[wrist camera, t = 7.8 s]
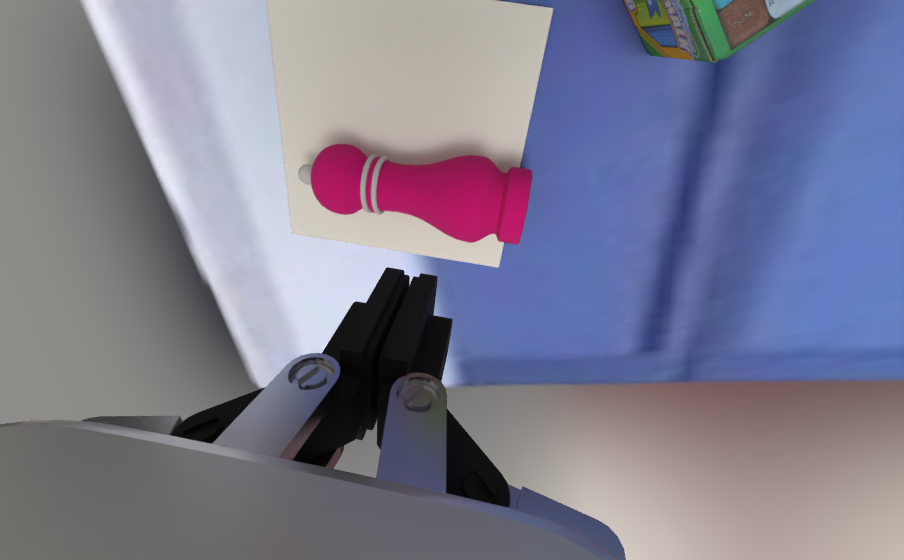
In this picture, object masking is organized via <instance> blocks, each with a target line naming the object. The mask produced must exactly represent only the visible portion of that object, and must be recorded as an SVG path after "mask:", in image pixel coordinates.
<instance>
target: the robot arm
mask: <svg viewBox="0 0 904 560" xmlns="http://www.w3.org/2000/svg"><path fill="white" fill-rule="evenodd" d="M436 288H437V276H433V275H428V274H422V273H421V274H420V276H419V277H413V279H412V281H411V284H410V286H409V276H408V275H404V270H399V269H394V268H388V267H387V268H386V269H385V271H384V273H383V274H382V276H381V278H380V280H379V281H378V283H377V285H376V287H375V288H374V290H373V292H372V294H371V295H370V297H369V299H368V301H367V302H366V303H362V302H357V301H356V302H354V303H353V305H352V306H351V308H350V309H349V311H348V312H347V314H346V316H345V317H344V319H343V320H342V322H341V324H340V325H339V327H338V328H337V330H336V332H335V333H334V335H333V336H332V338H331V340H330V341H329V343H328V344H327V346H326V348H325V349H324V351H323V352H322V354H321V353H311V354H306V355H302V356H300V357H298V358H296V359H294V360H292V361H291V362H290V363H289V364H287V365H286V367H285V368H284V369H283V370H282V371H281V372H280V373H279V374H278V375H277V376H276V377H275V378H274V379H273V380H272V381H271V382H270V383H269V384H268V385H267V387H265V388H262V389H260V390H257V391H254V392H252V393H249V394H246V395H244V396H241V397H238V398H236V399H233V400H231V401H228V402H225V403H223V404H220V405H217V406H215V407H212V408H209V409H207V410H204V411H201V412H199V413H197V414H194V415H192V416H190V417H189V418H187V419H186V420H181V417H180V416H100V417H93V418H88V419H85V420H82V421H73V420H31V421H23V422H15V423H6V424H0V560H626V558H625V553H624V548H623V546H622V544H621V542H620V541H619V539H618V537H617V536H616V534H615V533H614V532H613V531H612V530H611V529H610V528H609V527H608V526H606V525H605V524H603V523H602V522H600V521H599V520H597V519H594V518H592V517H590V516H588V515H586V514H583V513H581V512H579V511H577V510H574V509H572V508H570V507H568V506H565V505H563V504H561V503H559V502H556V501H554V500H552V499H550V498H548V497H545V496H543V495H541V494H539V493H536V492H534V491H532V490H530V489H527V488H525V487H522V489H521V490H519V489H517V488H515V487H513V486H511V485H508V483H507V482H506V480H505V479H504V477H503V476H502V474H501V473H500V472H499V470H498V469H497V468H496V467H495V466H494V464H493V463H492V462H491V461H490V460H489V458H488V457H487V456H486V455H485V454H484V452H483V451H482V450H481V449H480V448H479V446H478V445H477V444H476V443H475V442H474V440H473V439H472V438H471V437H470V436H469V435H468V433H467V432H466V431H465V430H464V428H463V427H462V426H461V425H460V424H459V422H458V421H457V420H456V419H455V418H454V417H453V415H452V414H451V413H450V412H449V410H448V409H447V394H446V389H445V387H444V386H443V384H442V382H441V380H442V376H443V371H444V367H445V362H446V357H447V352H448V347H449V341H450V334H451V328H452V319H450V318H444V317H439V316H433V314H434V305H435V297H436ZM376 421H377V423H378V424H377V445H378V447H379V448H380V450H381V451H380V458H379V464H378V470H377V476H376V478H373V477H368V476H364V475H359V474H354V473H349V472H345V471H340V470H335V469H334V467H335V465H336V464H337V462H338V460H339V459H340V457H341V455H342V453H343V450H344V445H346V444H347V443H349V442H351V441H353V440H355V439H359V440H363V438H364V435H365V433H366V430H367V429H368V430H373V428H374V426H375V423H376Z"/></svg>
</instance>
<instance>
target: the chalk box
mask: <svg viewBox="0 0 904 560" xmlns="http://www.w3.org/2000/svg"><path fill="white" fill-rule="evenodd" d="M623 1H624V3H625V5H626V7H627V9H628V12H629V14H630V16H631V18H632V20H633V22H634V24H635V26H636V28H637V30H638V32H639V35H640V37H641V39H642V41H643V43H644V45H645V47H646V50H647V51H648V53H649V55H651V56H660V57H669V58H678V59H689V60H695V61H706V62H712V63H714V62H717V61H718V60H720V59H721V60H723V59H726V58H727V57H729V56H731V55H733V54H734V53H736V52H737V51H739V50H740V49H742V48H743V47H745V46H747V45H748V44H750V43H751V42H753V41H754V40H756V39H757V38H759V37H760V36H762V35H763V34H765V33H766V32H768V31H769V30H771V29H772V28H774V27H775V26H777V25H778V24H780V23H781V22H783V21H785V20H786V19H788V18H789V17H791V16H792V15H794V14H795V13H797V12H798V11H800V10H801V9H803V8H804V7H806V6H807V5H809V4H810V3H812V2H813V1H815V0H623Z"/></svg>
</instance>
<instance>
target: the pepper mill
mask: <svg viewBox="0 0 904 560" xmlns="http://www.w3.org/2000/svg"><path fill="white" fill-rule="evenodd" d="M298 177H299V179H300V180H301V181H302V182H303V183H304V184H307V185H311V187H312V190H313V193H314V195H315V197H316V199H317V200H318V202H319V203H320V204H321V205H322V206H323V207H325V208H326V209H328V210H329V211H331V212H334V213H337V214H342V215H349V214H354V213H356V212H358V211H359V210H361V209H364V210H365V211H366V212H367V213H372V212H373V213H376V214H378V215H381V214H383V213H384V212H385V211H391V212H400V213H404V214H408V215H412V216H414V217H417V218H419V219H421V220H423V221H425V222H427V223H428V224H430V225H432V226H433V227H435V228H436V229H438V230H440V231H441V232H443V233H444V234H446V235H448V236H450V237H452V238H454V239H457V240H461V241H464V242H468V243H473V242H477V241H479V240H481V239H483V238H484V237H486V236H488V235H490V234H495V235H496V237H497V240H498V241H499V242H504V243H510V244H518V243H519V241H520V238H521V234H522V230H523V226H524V221H525V217H526V212H527V206H528V200H529V194H530V188H531V181H532V171H531V170H530V169H525V168H518V167H511V168H510V169H509V170H508V172H507V173H503V172H501V171H500V170H499V169H498V167H497V166H496V165H495V164H494V163H493V162H492V161H491V160H490V159H489V158H487V157H484V156H475V155H466V156H459V157H454V158H451V159H447V160H444V161H440V162H436V163H432V164H425V165H403V164H398V163H394V162H391V161H390V159H389V158H388V157H387V156H382V157H380V156H377V155H376V154H373V155H370V156H369V157H367V156H366V155H365V154H364V153H363V152H362V151H361V150H360V149H359V148H357V147H355V146H353V145H349V144H334V145H331V146H328V147H326V148H324V149H323V150H322V151H321V152H320V153H319V154H318V155H317V157H316V159H315V161H314V163H313V165H311V164H305V165H302V166H301V167H300V168H299V171H298Z"/></svg>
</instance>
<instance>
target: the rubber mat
mask: <svg viewBox="0 0 904 560" xmlns="http://www.w3.org/2000/svg"><path fill="white" fill-rule="evenodd" d="M266 2H267V11H268V20H269V30H270V39H271V48H272V57H273V66H274V76H275V85H276V94H277V103H278V112H279V122H280V131H281V140H282V149H283V158H284V168H285V177H286V186H287V195H288V204H289V214H290V223H291V232H292V234H298V235H304V236H310V237H316V238H322V239H328V240H334V241H340V242H346V243H353V244H359V245H365V246H371V247H377V248H383V249H389V250H395V251H401V252H407V253H413V254H419V255H425V256H431V257H438V258H444V259H450V260H456V261H462V262H468V263H474V264H480V265H486V266H492V267H498V268H499V264H500V259H501V254H502V250H503V245H504V242H499V241H498V240H497V237H496V235H495V234H490V235H488V236H486V237H484V238H483V239H481V240H479V241H477V242H473V243H468V242H464V241H461V240H457V239H454V238H452V237H450V236H448V235H446V234H444V233H443V232H441V231H440V230H438V229H436V228H435V227H433V226H432V225H430V224H428V223H427V222H425V221H423V220H421V219H419V218H417V217H414V216H412V215H408V214H404V213H400V212H391V211H385V212H384V213H383V214H381V215H378V214H376V213H373V212H372V213H367V212H366V211H365V210H364V209H361V210H359V211H358V212H356V213H354V214H349V215H342V214H337V213H334V212H331V211H329V210H328V209H326V208H325V207H323V206H322V205H321V204H320V203H319V202H318V200H317V199H316V197H315V195H314V193H313V190H312V187H311V185H307V184H304V183H303V182H302V181H301V180H300V179H299V177H298V171H299V168H300V167H301V166H302V165H305V164H311V165H313V163H314V161H315V159H316V157H317V155H318V154H319V153H320V152H321V151H322V150H323V149H324V148H326V147H328V146H331V145H334V144H349V145H353V146H355V147H357V148H359V149H360V150H361V151H362V152H363V153H364V154H365V155H366V156H367V157H369V156H370V155H373V154H376V155H377V156H380V157H382V156H387V157H388V158H389V159H390V161H391V162H394V163H398V164H403V165H425V164H432V163H436V162H440V161H444V160H447V159H451V158H454V157H459V156H466V155H475V156H484V157H487V158H489V159H490V160H491V161H492V162H493V163H494V164H495V165H496V166H497V167H498V169H499V170H500V171H501V172H503V173H507V172H508V170H509V169H510V168H511V167H518V168H520V164H521V160H522V155H523V150H524V145H525V141H526V136H527V131H528V126H529V122H530V117H531V112H532V107H533V103H534V98H535V93H536V89H537V84H538V79H539V74H540V70H541V65H542V60H543V55H544V51H545V46H546V41H547V36H548V32H549V27H550V22H551V17H552V13H553V8H548V7H541V6H534V5H526V4H519V3H511V2H504V1H497V0H266Z"/></svg>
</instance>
